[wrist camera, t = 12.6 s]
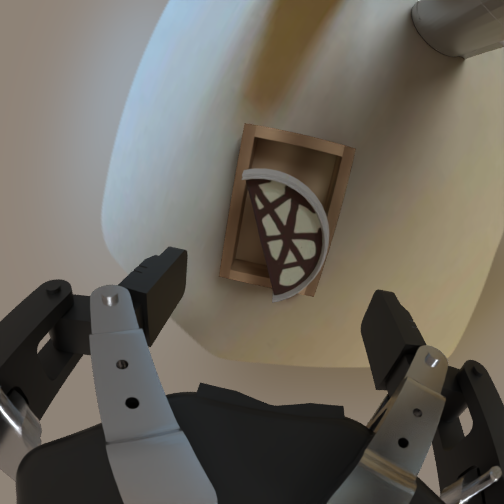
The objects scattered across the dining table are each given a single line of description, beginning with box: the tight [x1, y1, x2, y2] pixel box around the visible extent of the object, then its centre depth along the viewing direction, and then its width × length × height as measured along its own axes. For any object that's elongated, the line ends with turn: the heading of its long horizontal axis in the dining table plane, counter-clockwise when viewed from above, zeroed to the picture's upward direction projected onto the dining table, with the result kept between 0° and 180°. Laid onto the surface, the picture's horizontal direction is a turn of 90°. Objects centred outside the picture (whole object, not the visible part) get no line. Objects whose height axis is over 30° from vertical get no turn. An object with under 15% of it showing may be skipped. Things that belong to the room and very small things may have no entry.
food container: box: [242, 168, 329, 303], centre depth 27 cm, size 12×6×10 cm, turn 14°
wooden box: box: [219, 123, 356, 297], centre depth 30 cm, size 11×17×4 cm, turn 170°
